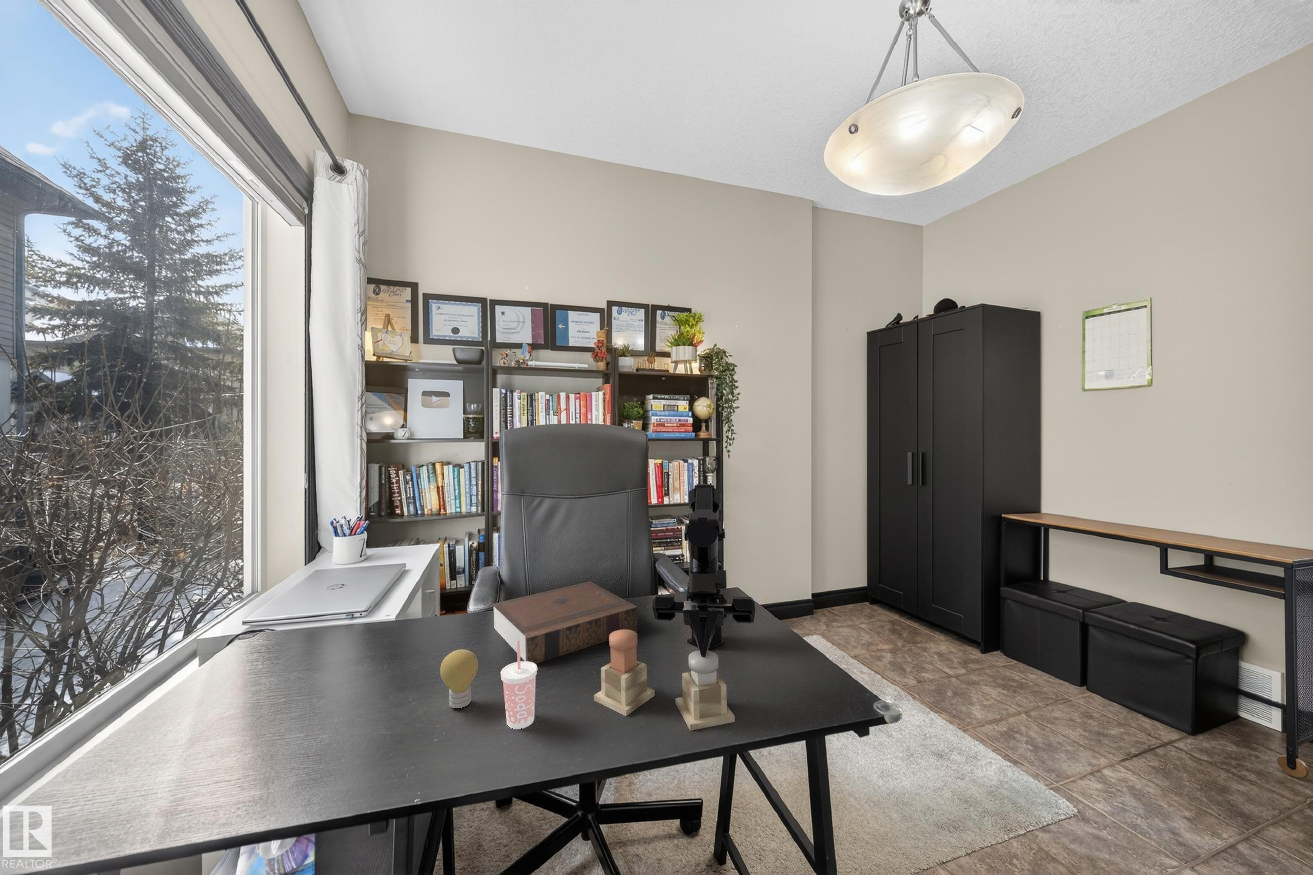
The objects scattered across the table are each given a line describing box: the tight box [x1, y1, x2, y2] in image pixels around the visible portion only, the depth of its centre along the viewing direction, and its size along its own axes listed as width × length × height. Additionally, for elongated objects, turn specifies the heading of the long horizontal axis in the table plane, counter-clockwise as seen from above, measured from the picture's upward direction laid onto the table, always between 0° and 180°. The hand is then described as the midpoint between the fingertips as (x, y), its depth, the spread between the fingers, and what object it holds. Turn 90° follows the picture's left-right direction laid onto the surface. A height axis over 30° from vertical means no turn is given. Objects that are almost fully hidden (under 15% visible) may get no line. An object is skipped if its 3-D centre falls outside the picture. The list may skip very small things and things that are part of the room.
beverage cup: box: [500, 641, 538, 730], centre depth 83 cm, size 6×6×14 cm
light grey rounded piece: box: [688, 649, 719, 687], centre depth 85 cm, size 5×5×6 cm
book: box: [491, 581, 638, 665], centre depth 120 cm, size 24×28×6 cm
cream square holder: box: [593, 660, 656, 717], centre depth 90 cm, size 8×8×6 cm
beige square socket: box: [675, 671, 736, 731], centre depth 85 cm, size 8×8×6 cm
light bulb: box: [439, 649, 479, 709], centre depth 88 cm, size 6×6×10 cm
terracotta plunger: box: [608, 630, 638, 674], centre depth 90 cm, size 5×5×6 cm
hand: (703, 656), depth 84 cm, fingers closed, pressing on light grey rounded piece
